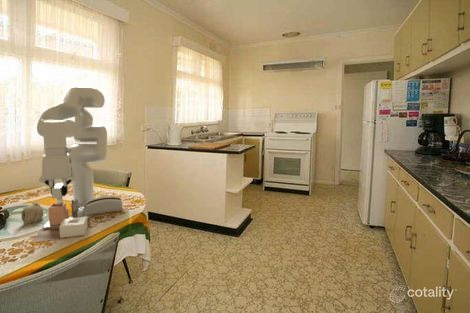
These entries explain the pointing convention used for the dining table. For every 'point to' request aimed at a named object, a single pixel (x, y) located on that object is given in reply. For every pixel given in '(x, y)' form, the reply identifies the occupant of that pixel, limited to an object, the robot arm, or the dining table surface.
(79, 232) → the white holed block
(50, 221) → the block
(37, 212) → the grey rounded lump
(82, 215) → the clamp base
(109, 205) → the grey arched block
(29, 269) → the dining table surface
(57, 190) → the steel key
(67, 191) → the robot arm
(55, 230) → the grey flat plate
